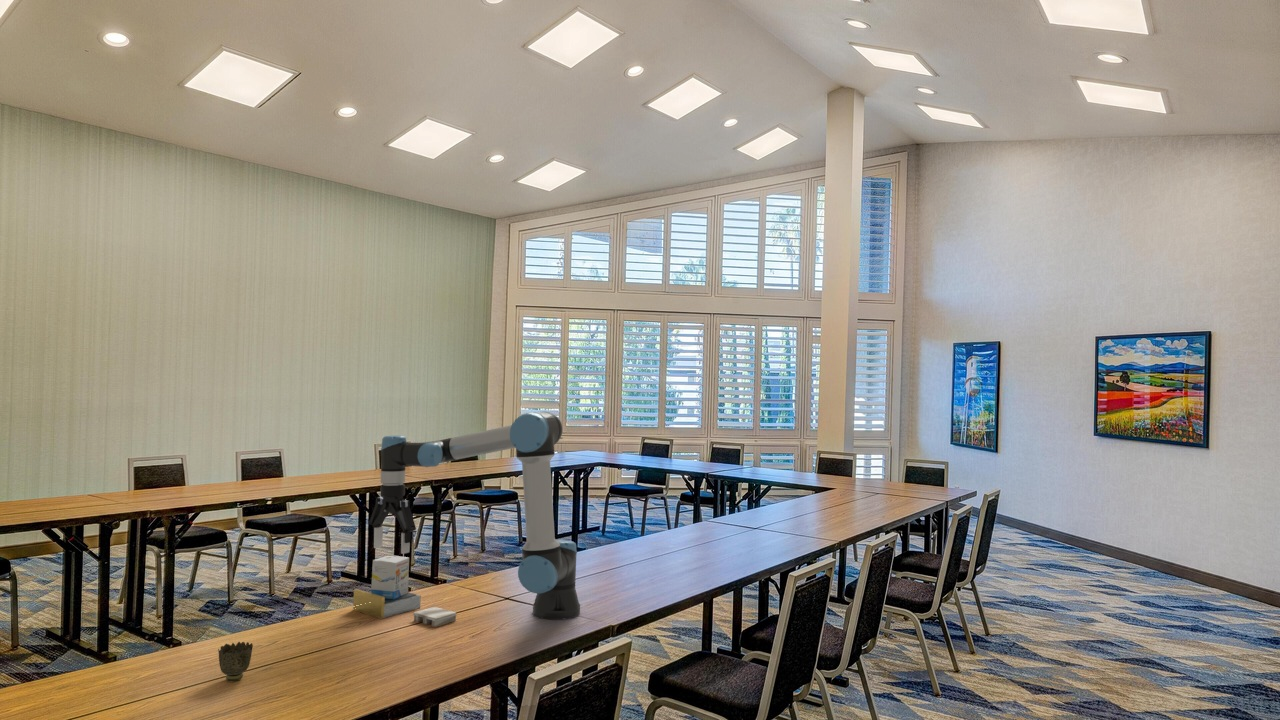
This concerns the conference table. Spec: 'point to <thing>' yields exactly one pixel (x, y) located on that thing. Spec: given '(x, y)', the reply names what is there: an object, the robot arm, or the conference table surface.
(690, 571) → the conference table surface
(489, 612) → the conference table surface
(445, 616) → the block
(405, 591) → the ink box
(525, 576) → the robot arm
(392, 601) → the dock
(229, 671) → the cup
